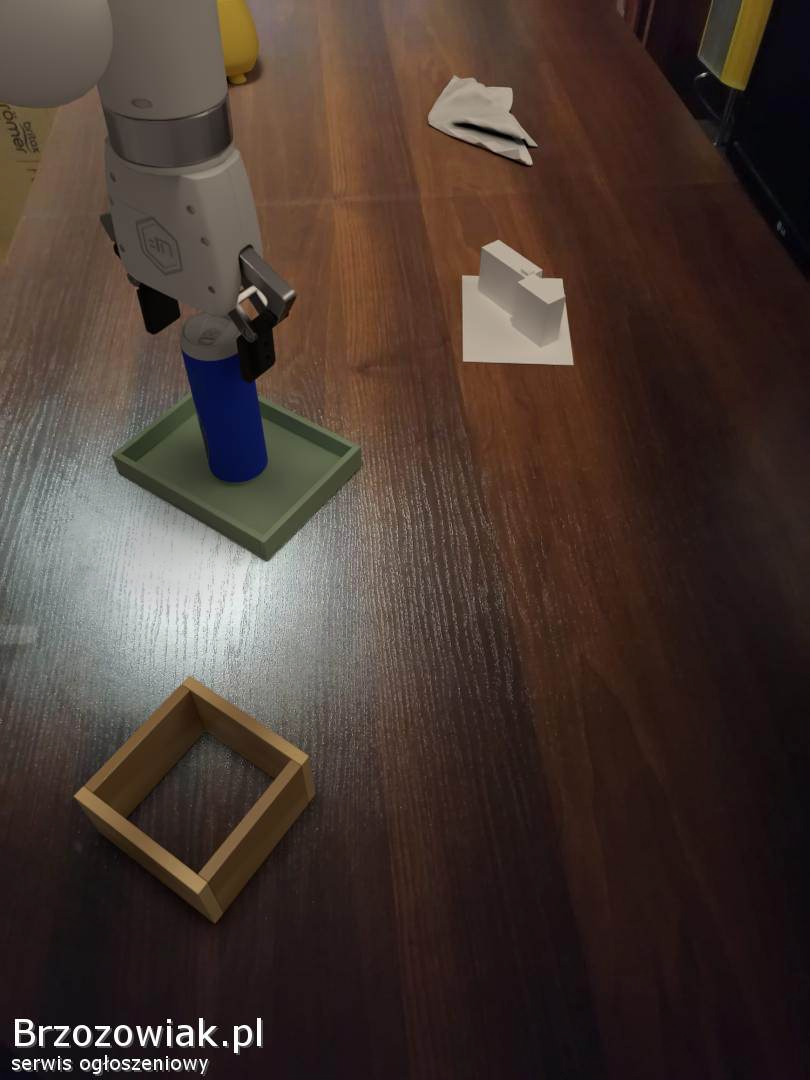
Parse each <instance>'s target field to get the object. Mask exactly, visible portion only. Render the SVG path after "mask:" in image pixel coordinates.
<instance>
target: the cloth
mask: <svg viewBox="0 0 810 1080" xmlns="http://www.w3.org/2000/svg"><path fill="white" fill-rule="evenodd" d="M513 99H514V94H513V88H511V87H505V86H485V85H484V84H483V83H480V82H478V81H477V80H476V78H474V77H466V78H460V77H459V76H457V75H455V74H454V75H453V76H452V78H451V79H450V81H449V82H448V84H447V85H446V86H445V87H444V88H443V90H442V92H441V93H440V95H439V96H438V98H437V99H436V101H435V102H434V104H433V106H432V107H431V109H430V112H429V113H428V114H427V119H428V124H429V125H430V126H431V127H433V128H434V129H437V130H439V131H441V132H443V133H445V134H447V135H449V136H451V137H453V138H456V139H458V140H461V141H464V142H466V143H470V144H472V145H474V146H478V147H481V148H484V149H486V150H489V151H491V152H494V153H496V154H499V155H501V156H504V157H506V158H509V159H511V160H514V161H516V162H519V163H521V164H524V165H527V166H529V167H530V166H533V164H534V163H533V160H532V157H531V155H530V152H529V150H528V148H527V146H526V144H527V145H528V146H529V147H537V148H538V147H539V145H538V144H537V143H536V142H535V141H534V140H533V139H532V138H531V136H530V135H529V134H528V133H527V132H526V130H525V129H524V128H523V127H522V126H521V124H520V122H519V121H518V120H517V119H516V116H514V115H513V114H512V113H510V110H512V106H513ZM523 140H524V141H525V143H526V144H525V143H524V141H523Z"/></svg>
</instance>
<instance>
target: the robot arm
mask: <svg viewBox="0 0 810 1080" xmlns="http://www.w3.org/2000/svg"><path fill="white" fill-rule="evenodd" d="M95 87H96V88H97V92H98V97H99V100H100V104H101V108H102V112H103V116H104V121H105V125H106V129H107V133H108V134H107V136H106V137H105V139H104V156H103V157H104V173H105V182H106V192H107V197H108V204H109V209H108V210H107V211H105V212H103V213H101V214H100V215H99V222H100V223H101V225H102V226H103V228H104V230H105V232H106V234H107V236H108V237H109V239H110V241H111V242H113V243H114V244H113V251H114V254H115V255H116V256H117V257H118V259H119V260H120V261H121V264H122V267H123V268H124V270H125V271H126V277H127V280H128V282H129V283H130V284H131V285H132V286H133V287H135V288H137V289H136V290H135V291H136V295H137V299H138V302H139V307H140V311H141V315H142V319H143V324H144V328H145V331H146V332H147V333H148V334H150V335H153V336H155V335H158V334H159V333H161V332H162V331H164V330H165V329H166V328H168V327H169V326H170V325H172V324H174V323H175V322H176V321H178V320H179V319H180V318H181V314H182V313H181V309H180V303H183V304H185V305H186V306H189V307H191V308H193V309H196V310H198V311H200V312H205V313H207V314H210V315H213V316H225V315H227V314H228V315H229V316H230V318H231V319H232V321H233V322H234V324H235V325H236V327H237V328H238V330H239V331H240V333H241V335H240V336H238V337H237V339H236V343H237V350H238V357H239V363H240V370H241V377H242V379H243V381H245V382H247V383H249V384H250V383H252V382H253V381H255V382H256V380H258V379H259V378H260V377H261V376H262V375H263V374H265V373H266V372H268V371H269V370H270V369H271V368H272V367H273V366H274V365H275V363H276V360H277V359H276V350H275V340H274V339H275V338H274V331H273V329H274V328H275V327H276V326H278V325H279V324H281V322H283V321H284V320H286V319H287V318H288V317H289V316H290V311H291V310H292V308H293V305H294V303H295V302H296V299H297V297H298V294H297V292H296V290H295V289H294V287H292V285H291V284H290V283H288V282H287V281H286V280H285V279H284V277H282V276H281V275H280V274H279V273H278V272H277V271H276V270H275V269H274V268H273V267H272V266H271V265H270V264H269V263H268V262H266V260H265V258H264V257H265V256H264V249H263V242H262V237H261V236H262V235H261V230H260V224H259V219H258V215H257V208H256V205H255V200H254V197H253V193H252V187H251V184H250V181H249V177H248V174H247V169H246V167H245V166H246V165H245V164H244V161H243V157H242V155H241V152H240V151H239V149H237V148H236V147H235V146H236V142H235V135H234V126H233V120H232V119H233V118H232V110H231V103H230V95H229V94H230V93H229V88H228V81H227V76H226V71H225V63H224V55H223V47H222V39H221V31H220V23H219V15H218V7H217V0H0V103H2V104H6V105H10V106H14V107H19V108H28V109H38V110H39V109H54V108H58V107H62V106H65V105H69V104H71V103H73V102H75V101H77V100H79V99H81V98H82V97H84V96H85V95H86V94H88V93H89V92H90V91H91V90H92V89H94V88H95ZM241 287H242V289H241ZM247 299H248V300H249V302H250V303H251V305H252V306H253V308H254V310H255V311H256V312H257V314H258V315H257V316H256V317H254V318H253V319H251V318H250V316H249V315H248V313H247V312H246V310H245V309H244V308H243V306H242V303H243V302H245V301H246V300H247ZM179 302H180V303H179Z"/></svg>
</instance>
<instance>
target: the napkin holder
mask: <svg viewBox="0 0 810 1080" xmlns="http://www.w3.org/2000/svg"><path fill="white" fill-rule="evenodd" d="M480 251H481V252H480V262H479V272H478V275H462V276H461V277H462V278H461V288H462V291H461V292H462V294H461V295H462V296H461V297H462V300H461V301H462V362H468V363H497V364H498V363H500V364H524V365H525V364H526V365H527V364H528V365H556V366H558V365H559V366H575V365H574V357H573V349H572V341H571V334H570V333H571V332H570V325H569V318H568V310H567V304H566V297H567V296H566V295H565V290H564V289H565V288H564V281H563V278H555V277H553V278H552V277H551V278H550V277H543V271H544V270H543V269H542V268H541V267H539V266H537V265H536V264H535V263H533V262H532V261H530V260H529V259H527V258H526V257H524V256H523V255H522V254H520V253H519V252H517V251H515V250H514V249H513V248H511V247H510V246H508V245H507V244H506V243H504V242H503V241H501V240H500V239H497V240H495V241H492V242H490V243H488V244H486V245H483V246H481V250H480Z"/></svg>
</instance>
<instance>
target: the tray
mask: <svg viewBox="0 0 810 1080" xmlns="http://www.w3.org/2000/svg"><path fill="white" fill-rule="evenodd" d="M258 401H259V407H260V413H261V419H262V425H263V432H264V438H265V444H266V450H267V456H268V463H267V466H266V468H265V469H264V471H263V472H262V473H261V474H260V475H259V476H258V477H257V478H256V479H254V480H252V481H250V482H247V483H243V484H230V483H227V482H224V481H222V480H220V479H218V478H217V477H215V476H214V475H213V474H212V472H211V470H210V468H209V464H208V459H207V455H206V451H205V447H204V443H203V439H202V434H201V430H200V426H199V422H198V418H197V414H196V409H195V405H194V401H193V397H192V393H191V391H189V392H188V393H187V394H185V395H184V396H183V397H182V398H181V399H179V400H178V401H177V402H176V403H175V404H173V405H172V406H171V407H169V408H168V409H167V410H165V411H164V412H163V413H162V414H160V415H159V416H158V417H157V418H156V419H154V420H153V421H151V423H149V424H148V425H147V426H146V427H144V428H142V430H140V431H139V432H138V433H137V434H135V435H134V436H132V438H130V439H129V440H128V441H126V442H125V443H124V444H123V445H121V446H120V447H118V449H116V450H115V451H114V452H113V453H112V454H111V457H112V460H113V463H114V466H115V469H116V472H117V474H118V475H119V476H121V477H122V478H123V479H125V480H127V481H129V482H130V483H133V484H135V485H136V486H138V487H140V488H141V489H143V490H144V491H146V492H148V493H150V494H151V495H153V496H155V497H157V498H158V499H160V500H162V501H163V502H165V503H167V504H169V505H170V506H172V507H173V508H175V509H177V510H179V511H180V512H182V513H184V514H186V515H187V516H188V517H191V518H192V519H194V520H196V521H198V522H199V523H201V524H202V525H204V526H206V527H208V528H210V529H211V530H213V531H214V532H216V533H218V534H220V535H222V537H225V538H227V539H228V540H230V541H231V542H233V543H235V544H237V545H238V546H240V547H242V548H243V549H245V550H246V551H249V552H251V553H252V554H254V555H255V556H257V557H258V558H260V559H262V560H264V561H266V562H268V561H270V559H271V558H273V557H274V556H275V554H276V553H277V552H278V551H280V550H281V548H282V547H283V546H284V545H285V544H287V542H289V540H291V538H292V537H293V536H294V535H295V534H296V533H297V532H298V531H299V530H300V529H301V528H302V527H303V526H304V525H305V524H306V523H307V522H308V521H310V519H311V518H312V517H313V516H314V515H315V514H316V513H317V512H318V511H319V510H320V509H321V508H322V507H323V506H324V505H325V504H326V503H327V502H328V501H329V500H330V499H331V498H332V497H333V496H334V495H335V494H336V493H337V492H338V491H339V490H340V489H341V488H342V486H344V484H345V483H346V482H348V480H350V478H352V477H353V476H354V474H355V473H356V472H358V471H359V469H361V468H362V467H363V463H362V446H361V445H359V444H356V443H355V442H353V441H351V440H349V439H347V438H345V437H343V436H341V435H339V434H337V433H335V432H333V431H330V430H329V429H328V428H325V427H323V426H321V425H318V424H317V423H315V422H313V421H311V420H309V419H307V418H306V417H303V416H301V415H299V414H297V413H295V412H293V411H291V410H289V409H287V408H285V407H283V406H282V405H279V404H277V403H275V402H273V401H271V400H269V399H268V398H265V397H263V396H261V395H259V394H258Z"/></svg>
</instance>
